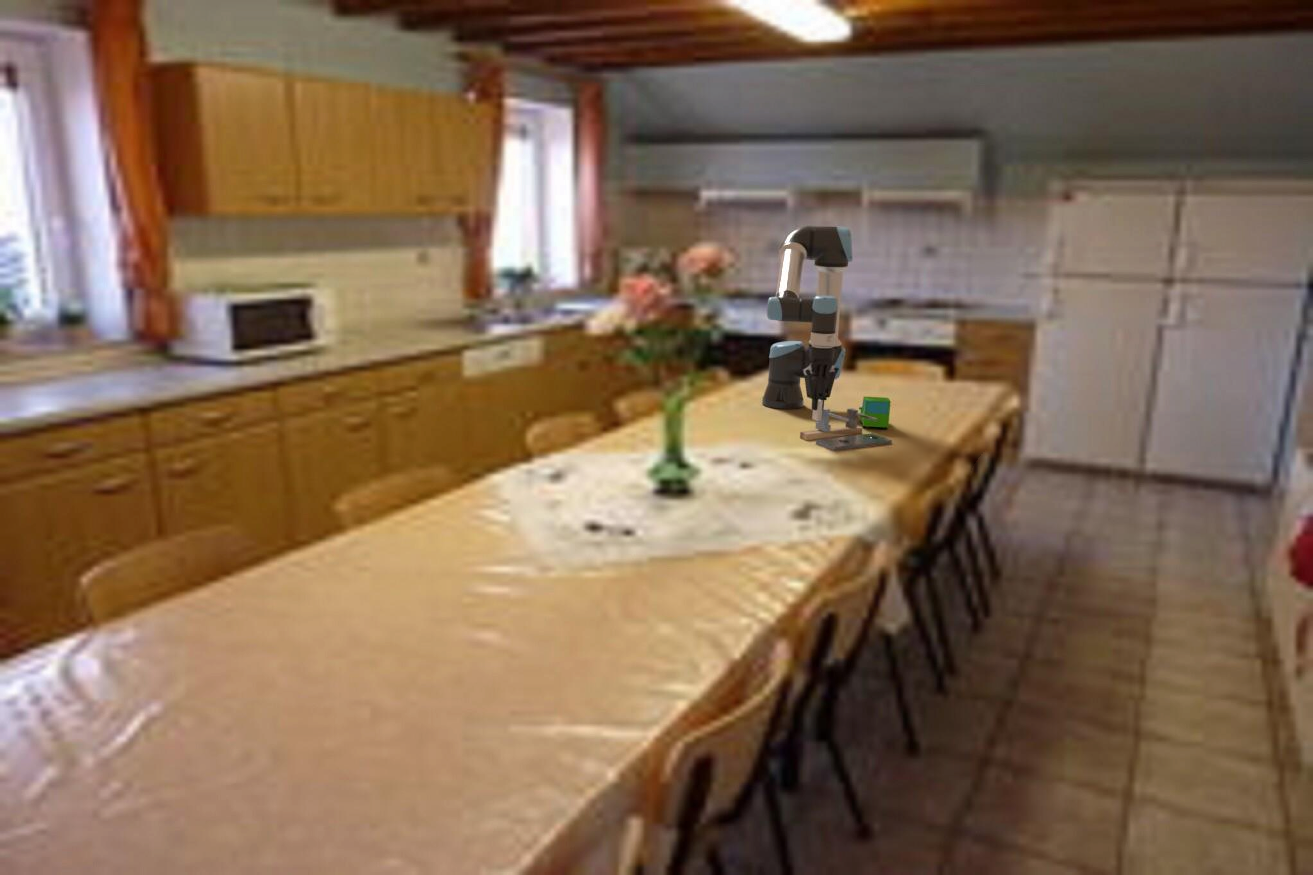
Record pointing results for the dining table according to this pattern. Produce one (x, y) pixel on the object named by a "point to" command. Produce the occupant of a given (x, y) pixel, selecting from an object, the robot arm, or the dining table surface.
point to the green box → (875, 411)
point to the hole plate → (853, 442)
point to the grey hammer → (827, 420)
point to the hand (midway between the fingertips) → (816, 419)
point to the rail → (841, 431)
